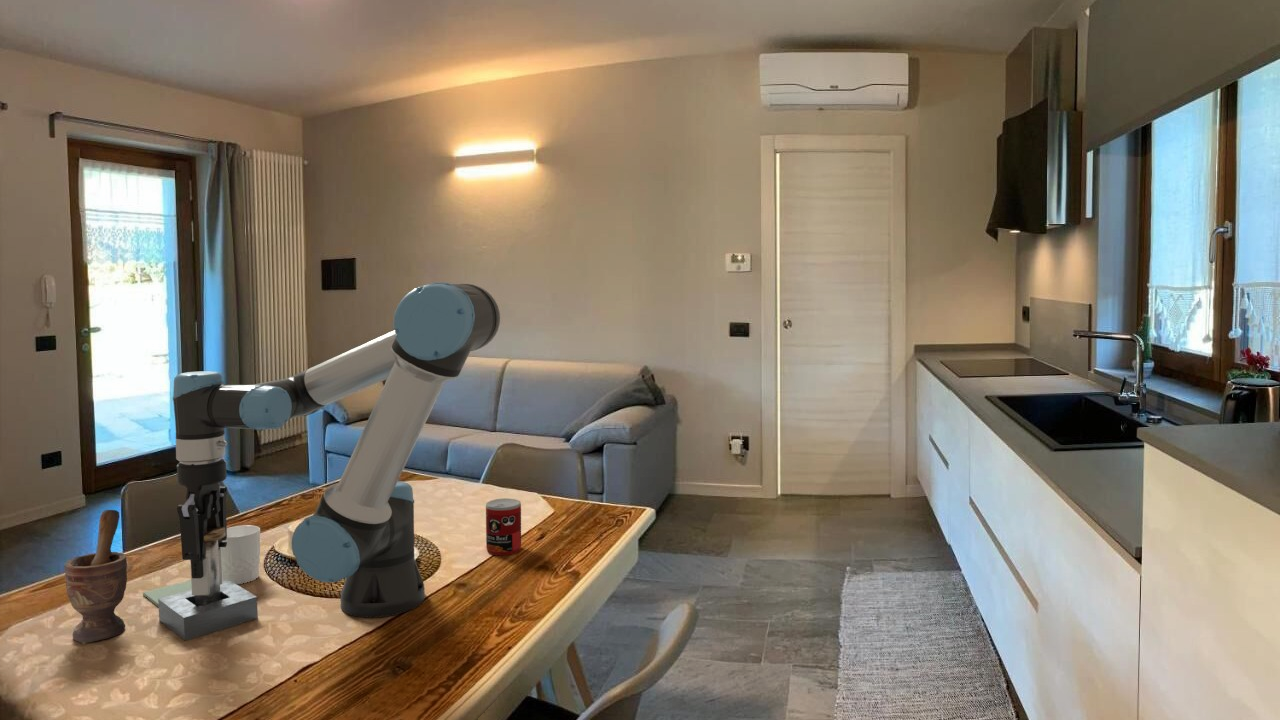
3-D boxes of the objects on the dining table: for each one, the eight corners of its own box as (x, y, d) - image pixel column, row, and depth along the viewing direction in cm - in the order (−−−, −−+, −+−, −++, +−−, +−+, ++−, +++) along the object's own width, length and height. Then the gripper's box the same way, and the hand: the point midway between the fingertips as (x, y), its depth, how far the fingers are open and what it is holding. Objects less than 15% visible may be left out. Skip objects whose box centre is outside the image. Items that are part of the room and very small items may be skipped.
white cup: (244, 587, 154) (242, 538, 154) (209, 584, 156) (207, 535, 155) (270, 573, 162) (268, 526, 161) (237, 570, 164) (235, 524, 163)
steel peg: (235, 618, 140) (230, 521, 138) (196, 630, 135) (191, 530, 134) (220, 609, 144) (216, 514, 142) (182, 620, 139) (177, 522, 138)
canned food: (479, 553, 175) (479, 505, 174) (498, 542, 183) (498, 496, 182) (509, 558, 173) (508, 509, 171) (527, 547, 180) (527, 500, 179)
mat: (219, 593, 151) (219, 590, 151) (161, 609, 144) (161, 606, 144) (199, 580, 158) (199, 577, 158) (143, 595, 150) (142, 592, 150)
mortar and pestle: (71, 623, 138) (64, 512, 136) (129, 612, 142) (124, 505, 140) (67, 649, 128) (60, 530, 126) (130, 636, 133) (124, 521, 131)
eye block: (257, 618, 140) (256, 596, 140) (184, 640, 131) (183, 617, 131) (230, 600, 148) (229, 580, 148) (159, 620, 139) (158, 598, 139)
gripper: (200, 471, 129) (206, 608, 131) (244, 449, 146) (249, 571, 148) (152, 471, 128) (159, 609, 130) (202, 450, 145) (208, 572, 147)
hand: (207, 588), depth 139 cm, fingers closed on steel peg, 4 cm apart
